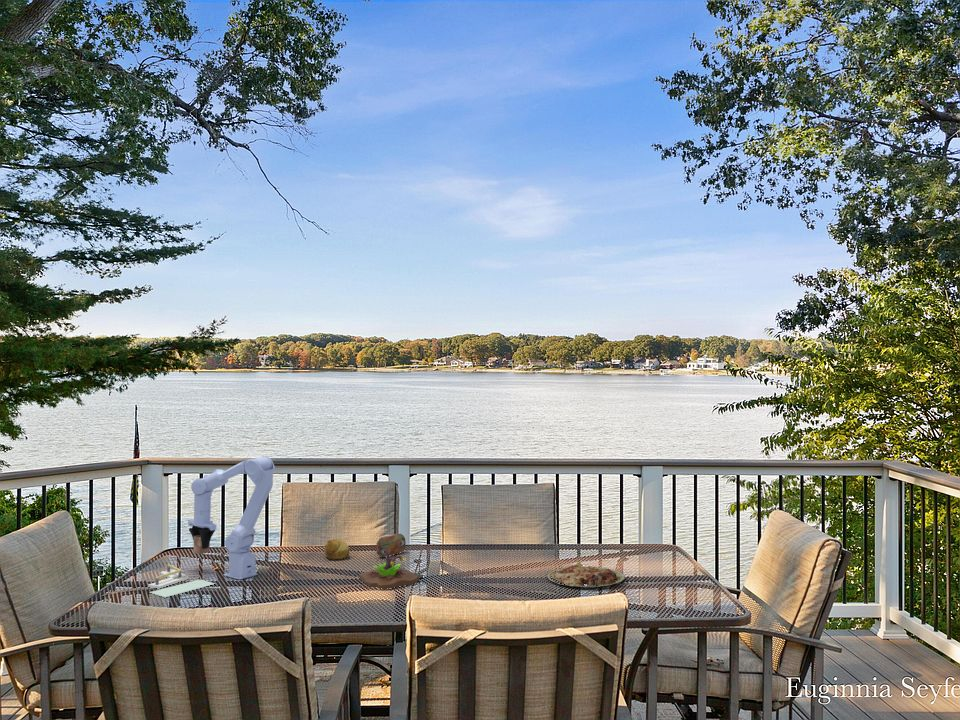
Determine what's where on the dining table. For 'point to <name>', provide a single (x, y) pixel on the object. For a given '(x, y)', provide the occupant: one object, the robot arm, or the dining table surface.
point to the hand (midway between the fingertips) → (201, 547)
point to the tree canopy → (391, 544)
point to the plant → (388, 575)
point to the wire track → (169, 577)
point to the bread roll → (336, 549)
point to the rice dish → (586, 576)
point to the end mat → (181, 588)
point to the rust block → (199, 545)
